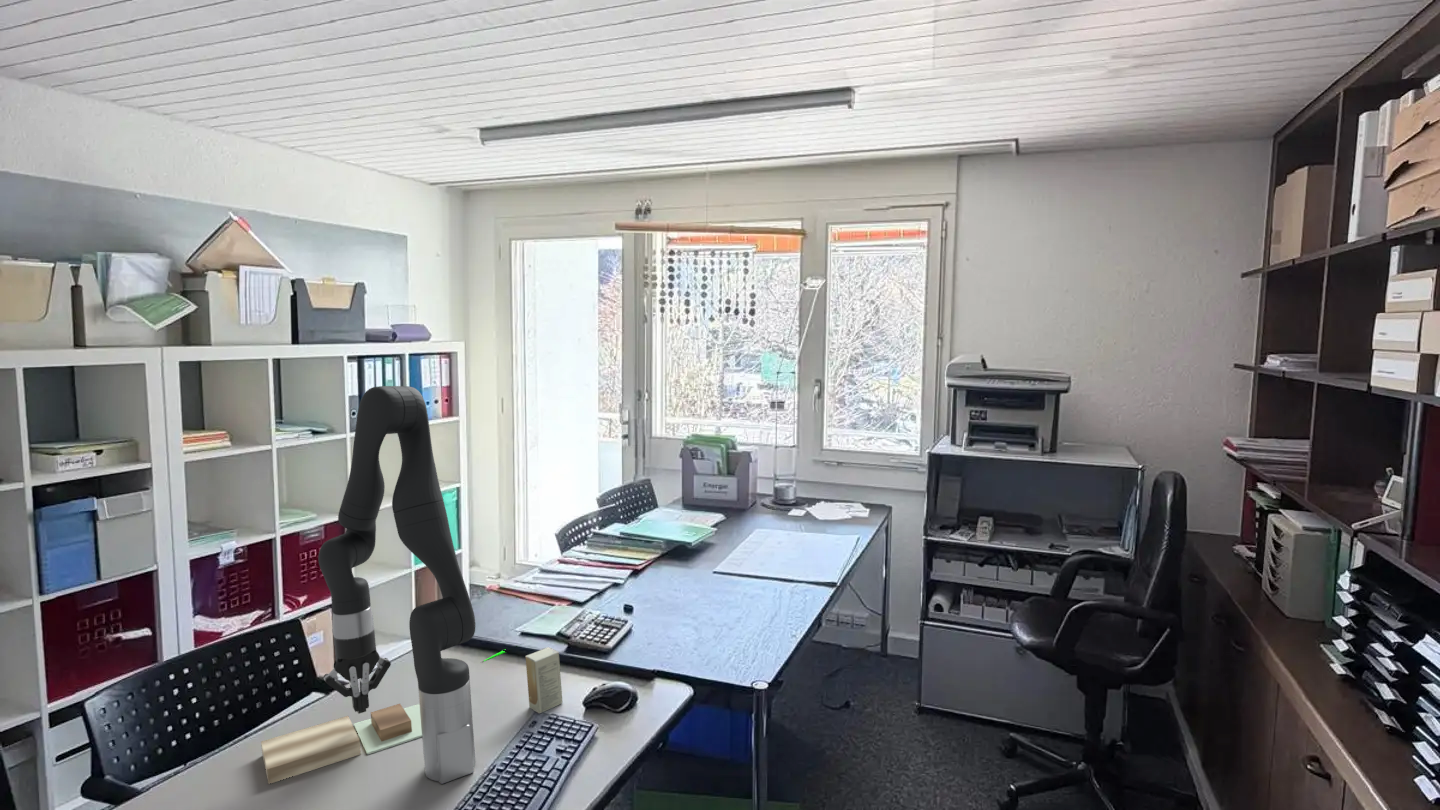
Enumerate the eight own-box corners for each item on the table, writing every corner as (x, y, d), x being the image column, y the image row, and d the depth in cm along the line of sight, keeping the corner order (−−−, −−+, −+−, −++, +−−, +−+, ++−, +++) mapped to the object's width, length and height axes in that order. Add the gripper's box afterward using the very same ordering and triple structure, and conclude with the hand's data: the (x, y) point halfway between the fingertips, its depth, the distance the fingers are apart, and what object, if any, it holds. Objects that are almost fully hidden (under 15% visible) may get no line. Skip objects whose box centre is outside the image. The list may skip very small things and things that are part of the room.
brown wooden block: (380, 730, 157) (381, 741, 157) (411, 720, 161) (412, 731, 161) (370, 712, 164) (371, 723, 165) (400, 703, 168) (400, 714, 168)
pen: (525, 644, 204) (525, 641, 204) (481, 664, 193) (480, 661, 193) (522, 643, 205) (522, 640, 205) (478, 663, 193) (478, 660, 193)
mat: (467, 721, 165) (467, 720, 165) (367, 754, 153) (367, 752, 153) (448, 696, 176) (448, 694, 176) (353, 725, 165) (353, 723, 165)
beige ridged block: (360, 754, 154) (359, 740, 153) (268, 784, 144) (267, 769, 144) (349, 728, 163) (348, 715, 163) (262, 755, 154) (260, 741, 154)
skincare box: (552, 697, 175) (549, 645, 173) (563, 703, 172) (560, 651, 170) (527, 707, 170) (524, 655, 169) (538, 714, 167) (534, 661, 166)
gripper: (321, 645, 150) (329, 729, 151) (392, 627, 157) (400, 707, 159) (314, 633, 156) (322, 715, 157) (383, 616, 163) (390, 694, 165)
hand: (361, 711), depth 158 cm, fingers closed
